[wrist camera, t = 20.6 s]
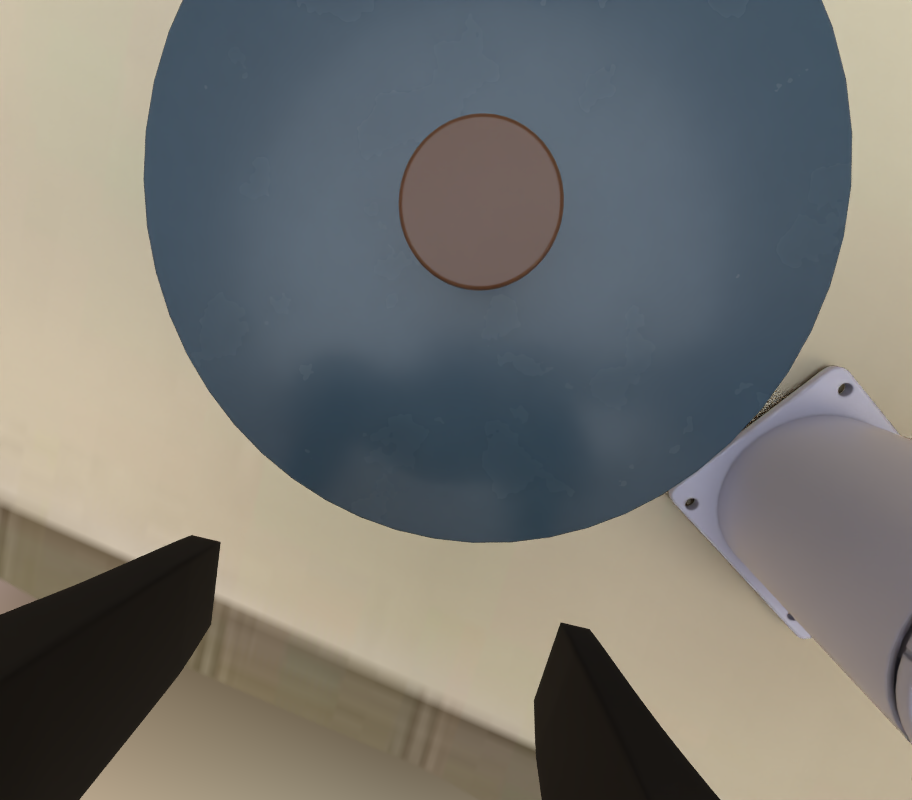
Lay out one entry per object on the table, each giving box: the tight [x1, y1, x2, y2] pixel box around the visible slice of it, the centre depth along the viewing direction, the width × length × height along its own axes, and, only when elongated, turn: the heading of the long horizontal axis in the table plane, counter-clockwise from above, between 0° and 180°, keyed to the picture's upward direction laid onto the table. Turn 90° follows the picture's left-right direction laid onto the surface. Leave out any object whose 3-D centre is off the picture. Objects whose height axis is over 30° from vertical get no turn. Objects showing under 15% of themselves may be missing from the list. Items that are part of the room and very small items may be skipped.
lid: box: [144, 0, 852, 543], centre depth 9 cm, size 15×15×4 cm
